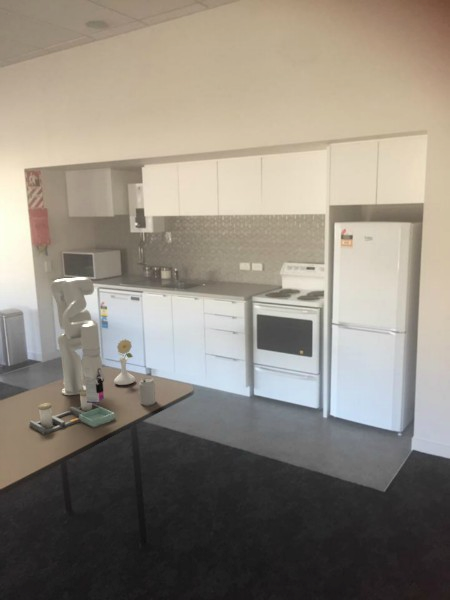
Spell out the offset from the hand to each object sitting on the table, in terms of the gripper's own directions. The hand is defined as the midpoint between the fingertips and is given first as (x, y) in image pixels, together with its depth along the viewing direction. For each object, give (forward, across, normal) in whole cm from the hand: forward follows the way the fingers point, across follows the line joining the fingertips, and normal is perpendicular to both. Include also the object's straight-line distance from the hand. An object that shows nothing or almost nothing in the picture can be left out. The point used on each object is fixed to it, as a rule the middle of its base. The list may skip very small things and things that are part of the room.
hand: (94, 389), depth 223 cm
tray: (+14, 0, 0) cm, 14 cm away
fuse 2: (+14, -12, +2) cm, 19 cm away
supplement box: (+5, 0, 0) cm, 5 cm away
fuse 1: (+14, -12, -18) cm, 26 cm away
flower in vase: (+14, -30, +37) cm, 50 cm away
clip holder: (+14, -12, -8) cm, 20 cm away
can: (+15, +2, +27) cm, 31 cm away
